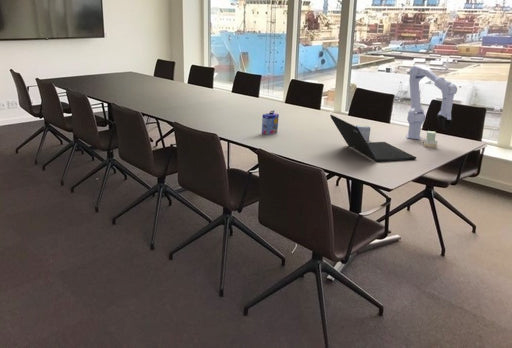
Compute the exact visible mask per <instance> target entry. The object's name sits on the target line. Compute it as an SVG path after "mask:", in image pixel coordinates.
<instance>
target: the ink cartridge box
mask: <svg viewBox="0 0 512 348" xmlns="http://www.w3.org/2000/svg"><path fill="white" fill-rule="evenodd" d="M279 116H280V113H276V112H275V110H270V112H269V113H264V114H262V119H261V121H262V123H261V134H263V135H265V136H269V135H274V134H277V133H278V127H279Z"/></svg>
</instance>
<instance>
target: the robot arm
mask: <svg viewBox="0 0 512 348" xmlns="http://www.w3.org/2000/svg"><path fill="white" fill-rule="evenodd" d="M425 77H426V78H427V79H429V80H431V81H432V82H433V83H434V86H435V87H436V88H437V89H439V90H440V92H441V94H442V95H441V97H442V100H441V106H440V110H439V112H438V113H437V115H436V117H437V121H438V128H440V129H442V131H443V132H447V131H448V129H449V128H450V125H451V124H452V122H453V119H452V110H453V103H454V99H455V98H454V97H455V94H457V92H458V88H457V86H456V85H455V84H451V83H450V82H449V81H447V80H446V78H445V77H444V76H443V77H441V76H440V77H439V76H438V75H437V74H436V73H434V71H432V69H431V67H429V66H428V65H413V66H411V68H410V69H409V78H408V79H409V96H410V97H409V98H410V109H409V110H408V111H407V113H408V114H407V118H406V119H407V123H408V124H409V126H408V132H407V134H406V138H407V139H412V140H421V132H422V125H423V123H424V122H425V121H426V114H425V111H424V109H423V108H421V107H422V106H421V96H420V95H421V94H420V81H421V80H422V79H424V78H425Z"/></svg>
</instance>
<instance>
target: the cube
mask: <svg viewBox="0 0 512 348" xmlns="http://www.w3.org/2000/svg"><path fill="white" fill-rule="evenodd" d="M436 134H437V133H436V131H431V130H427V132H426V136H425V138H426V140H431V141H435V139H436Z"/></svg>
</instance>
